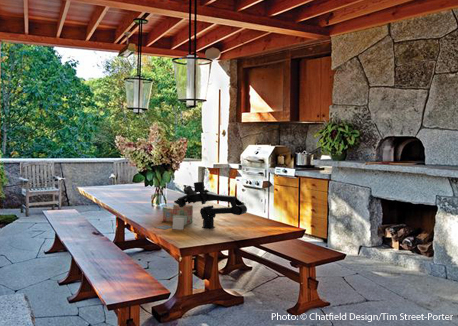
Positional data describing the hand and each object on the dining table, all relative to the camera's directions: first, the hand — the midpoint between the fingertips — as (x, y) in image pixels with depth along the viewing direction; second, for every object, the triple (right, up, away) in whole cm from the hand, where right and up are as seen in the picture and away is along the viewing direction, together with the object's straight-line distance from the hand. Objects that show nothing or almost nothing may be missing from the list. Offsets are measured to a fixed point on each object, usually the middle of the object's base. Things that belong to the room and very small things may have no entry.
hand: (178, 199), depth 286 cm
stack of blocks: (-1, -16, +5) cm, 17 cm away
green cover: (+2, -16, -5) cm, 17 cm away
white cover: (+2, -17, -16) cm, 23 cm away
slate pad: (-7, -17, -14) cm, 23 cm away
